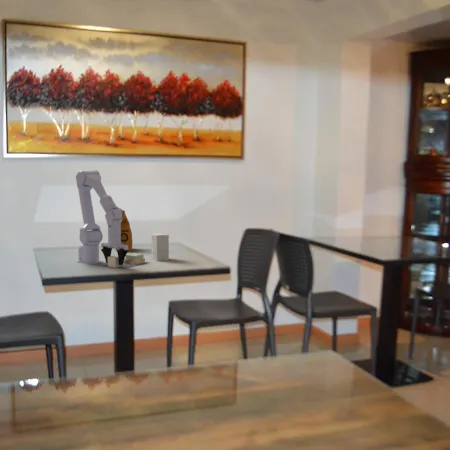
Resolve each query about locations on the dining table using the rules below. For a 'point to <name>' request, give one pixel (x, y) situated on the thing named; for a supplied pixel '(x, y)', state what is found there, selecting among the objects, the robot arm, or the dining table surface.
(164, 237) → the small box
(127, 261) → the maple base slab
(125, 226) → the coffee package
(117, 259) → the offwhite cube
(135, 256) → the sage top slab
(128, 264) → the rubber mat
